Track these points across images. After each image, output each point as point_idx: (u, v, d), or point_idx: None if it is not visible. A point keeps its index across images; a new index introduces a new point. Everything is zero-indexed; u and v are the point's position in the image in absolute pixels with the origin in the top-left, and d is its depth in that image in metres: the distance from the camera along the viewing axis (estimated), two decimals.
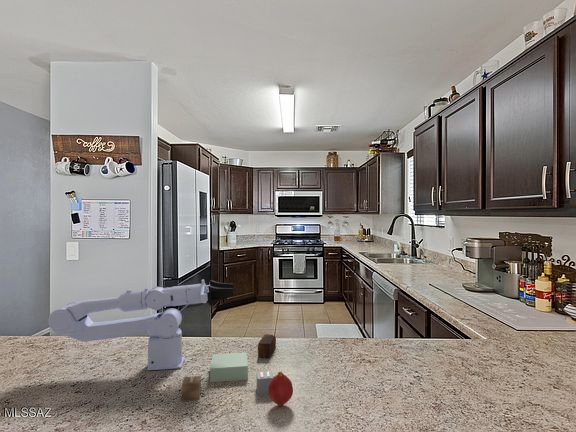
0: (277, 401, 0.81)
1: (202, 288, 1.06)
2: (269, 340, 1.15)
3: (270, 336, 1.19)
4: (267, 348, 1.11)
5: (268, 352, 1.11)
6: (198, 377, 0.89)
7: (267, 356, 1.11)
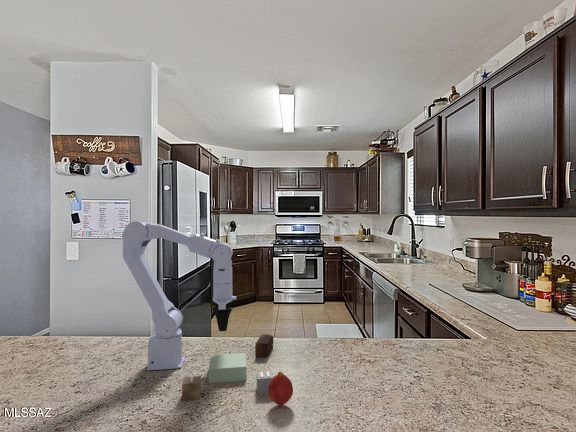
0: (277, 401, 0.81)
1: (229, 300, 1.06)
2: (266, 340, 1.15)
3: (267, 336, 1.19)
4: (265, 348, 1.12)
5: (266, 352, 1.11)
6: (198, 377, 0.89)
7: (265, 356, 1.12)
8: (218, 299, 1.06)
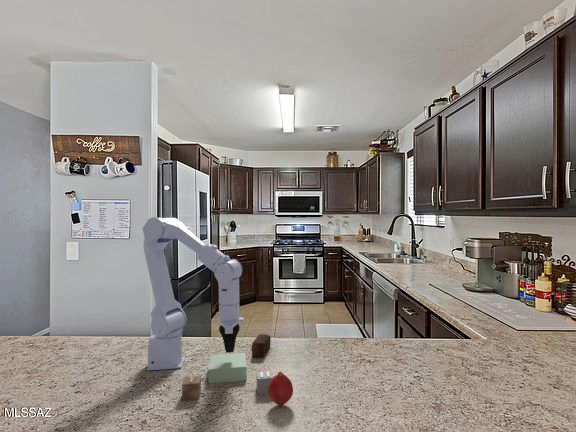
0: (277, 401, 0.81)
1: (236, 323, 0.98)
2: (263, 340, 1.15)
3: (264, 336, 1.19)
4: (261, 348, 1.12)
5: (262, 352, 1.12)
6: (198, 377, 0.89)
7: (261, 356, 1.12)
8: (224, 321, 0.98)
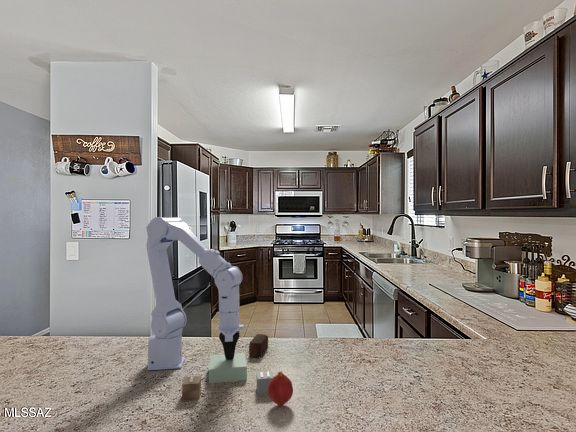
0: (277, 401, 0.81)
1: (236, 330, 0.98)
2: (260, 340, 1.15)
3: (262, 336, 1.19)
4: (258, 348, 1.12)
5: (259, 351, 1.12)
6: (198, 377, 0.89)
7: (258, 355, 1.12)
8: (224, 329, 0.98)
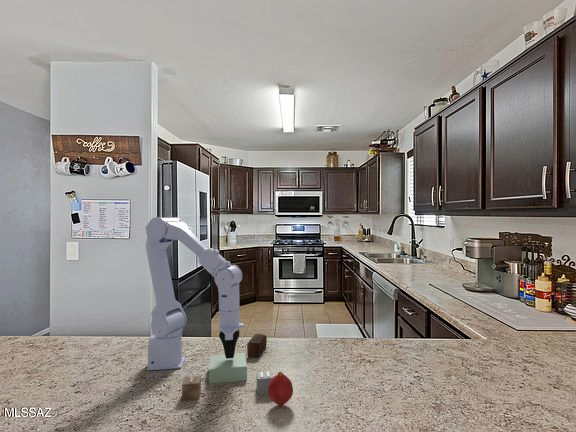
0: (277, 401, 0.81)
1: (236, 329, 0.98)
2: (259, 339, 1.15)
3: (260, 335, 1.19)
4: (256, 347, 1.12)
5: (257, 351, 1.12)
6: (198, 377, 0.89)
7: (256, 355, 1.12)
8: (224, 327, 0.98)
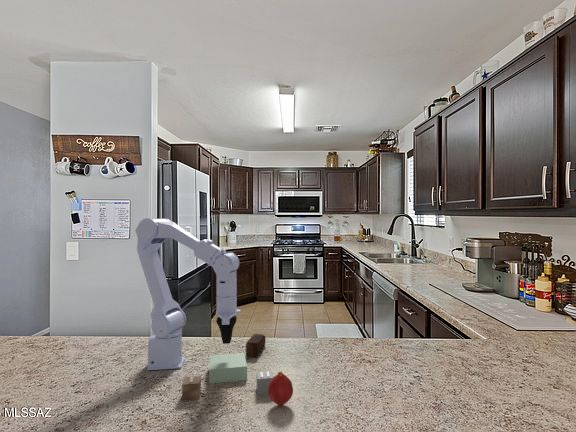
0: (277, 401, 0.81)
1: (233, 314, 1.00)
2: (257, 339, 1.15)
3: (259, 335, 1.19)
4: (255, 347, 1.12)
5: (256, 351, 1.12)
6: (198, 377, 0.89)
7: (255, 355, 1.12)
8: (221, 313, 1.00)
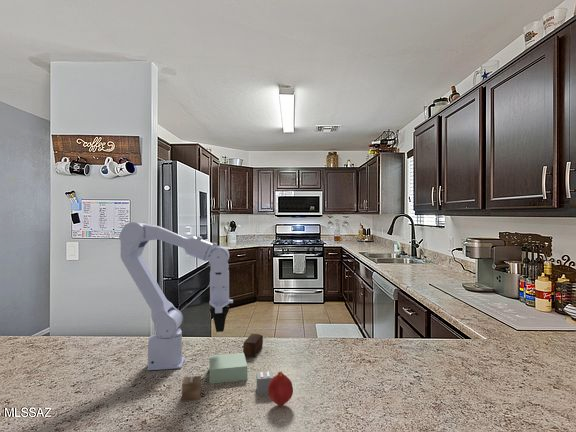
0: (277, 401, 0.81)
1: (226, 304, 1.06)
2: (255, 339, 1.15)
3: (257, 335, 1.19)
4: (252, 347, 1.12)
5: (253, 351, 1.12)
6: (198, 377, 0.89)
7: (252, 355, 1.12)
8: (215, 303, 1.06)
